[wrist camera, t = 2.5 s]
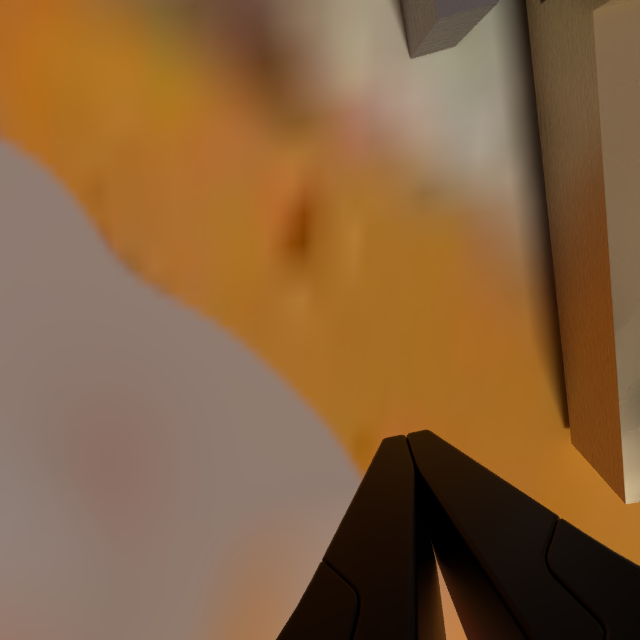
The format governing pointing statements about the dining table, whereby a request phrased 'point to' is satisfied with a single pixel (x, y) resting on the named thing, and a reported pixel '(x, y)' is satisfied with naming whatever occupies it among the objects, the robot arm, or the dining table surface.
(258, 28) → the dining table surface
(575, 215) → the beige block with rivets
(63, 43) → the dining table surface
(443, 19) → the fixed leaf
